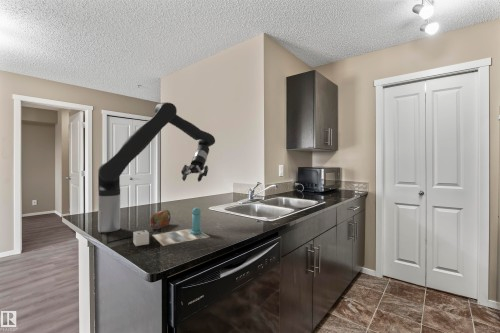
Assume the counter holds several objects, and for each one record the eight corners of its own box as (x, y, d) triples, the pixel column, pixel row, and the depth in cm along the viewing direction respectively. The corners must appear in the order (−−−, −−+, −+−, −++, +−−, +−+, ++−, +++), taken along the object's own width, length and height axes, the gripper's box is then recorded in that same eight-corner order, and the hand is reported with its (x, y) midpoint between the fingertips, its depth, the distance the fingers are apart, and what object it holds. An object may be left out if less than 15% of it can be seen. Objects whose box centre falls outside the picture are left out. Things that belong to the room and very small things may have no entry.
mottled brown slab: (154, 231, 117) (155, 214, 117) (149, 231, 118) (149, 214, 118) (171, 224, 132) (171, 208, 132) (165, 223, 133) (165, 208, 132)
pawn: (193, 235, 111) (193, 208, 111) (188, 232, 115) (189, 207, 115) (203, 233, 114) (203, 207, 114) (198, 230, 118) (199, 205, 118)
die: (135, 247, 96) (135, 234, 96) (133, 243, 100) (133, 231, 100) (149, 245, 99) (149, 232, 99) (146, 241, 103) (146, 229, 103)
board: (163, 246, 97) (163, 245, 97) (151, 235, 111) (151, 234, 111) (210, 237, 110) (210, 236, 110) (194, 228, 123) (194, 227, 123)
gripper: (186, 154, 140) (176, 175, 129) (209, 155, 138) (202, 176, 126) (189, 163, 145) (180, 184, 134) (212, 164, 143) (205, 185, 132)
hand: (191, 180), depth 130 cm, fingers open, 8 cm apart
